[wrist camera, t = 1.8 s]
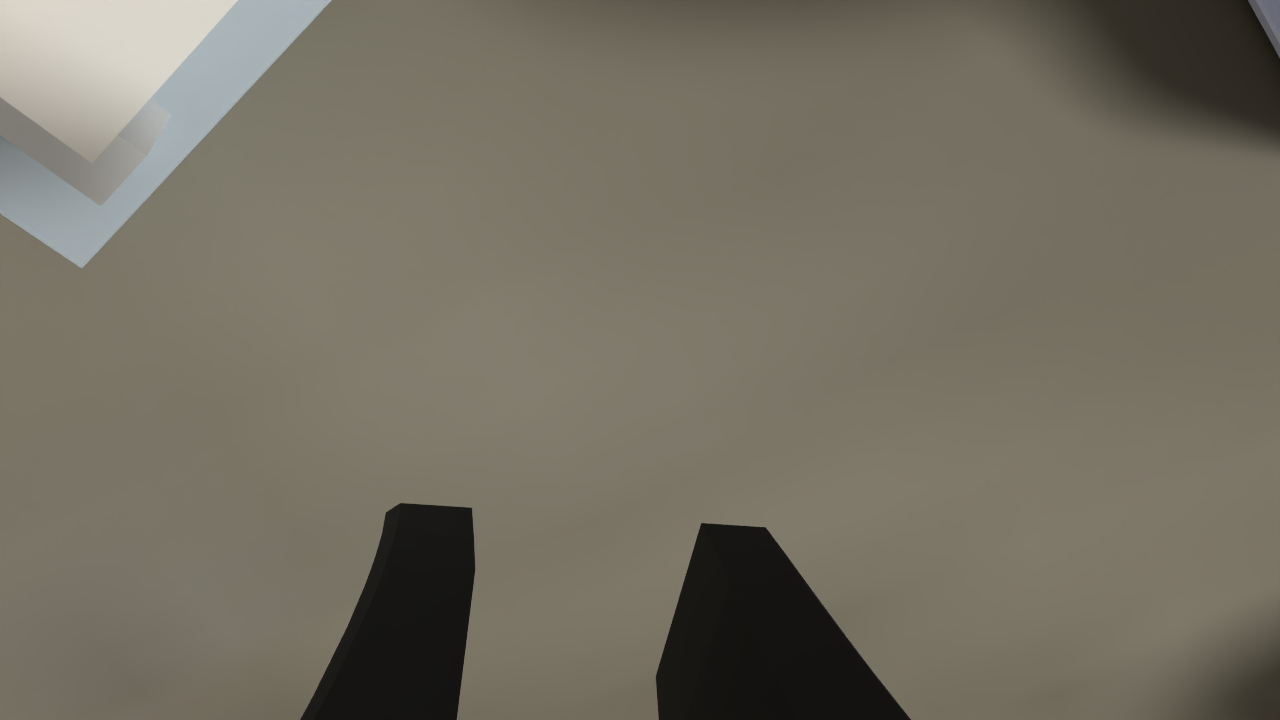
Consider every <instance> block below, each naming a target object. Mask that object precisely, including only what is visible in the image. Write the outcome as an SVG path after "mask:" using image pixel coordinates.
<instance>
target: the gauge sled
mask: <svg viewBox="0 0 1280 720" xmlns="http://www.w3.org/2000/svg"><path fill="white" fill-rule="evenodd" d="M237 1H238V0H0V97H1V98H2V99H4V100H5V101H6V102H8V103H9V104H10V105H12V106H13V107H15V108H16V109H17V110H19V111H20V112H22V113H23V114H24V115H26V116H27V117H28V118H30V119H31V120H33V121H34V122H35V123H37V124H38V125H39V126H41V127H42V128H44V129H45V130H46V131H48V132H49V133H50V134H52V135H53V136H55V137H56V138H57V139H59V140H60V141H62V142H63V143H64V144H66V145H67V146H68V147H70V148H71V149H73V150H74V151H75V152H77V153H78V154H79V155H81V156H82V157H84V158H85V159H86V160H88V161H89V162H91V163H93V162H94V161H95V160H96V159H97V158H98V156H99V155H100V154H101V153H102V152H103V151H104V150H105V149H106V147H107V146H108V145H109V144H110V143H111V142H112V141H113V140H114V139H115V137H116V136H117V135H118V134H119V133H120V132H121V131H122V130H123V128H124V127H125V126H126V125H127V124H128V123H129V122H130V121H131V120H132V118H133V117H134V116H135V115H136V114H137V113H138V112H139V111H140V109H141V108H142V107H143V106H144V105H145V104H146V103H147V102H148V101H149V99H150V98H151V97H152V96H153V95H154V94H155V93H156V92H157V90H158V89H159V88H160V87H161V86H162V85H163V84H164V83H165V82H166V80H167V79H168V78H169V77H170V76H171V75H172V74H173V73H174V71H175V70H176V69H177V68H178V67H179V66H180V65H181V64H182V63H183V61H184V60H185V59H186V58H187V57H188V56H189V55H190V54H191V52H192V51H193V50H194V49H195V48H196V47H197V46H198V45H199V43H200V42H201V41H202V40H203V39H204V38H205V37H206V36H207V35H208V33H209V32H210V31H211V30H212V29H213V28H214V27H215V26H216V24H217V23H218V22H219V21H220V20H221V19H222V18H223V17H224V16H225V14H226V13H227V12H228V11H229V10H230V9H231V8H232V7H233V5H234V4H235V3H236V2H237Z"/></svg>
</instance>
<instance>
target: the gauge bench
mask: <svg viewBox="0 0 1280 720" xmlns="http://www.w3.org/2000/svg"><path fill="white" fill-rule="evenodd" d="M330 1H331V0H238V1H237V2H236V3H235V4H234V5H233V7H232V8H231V9H230V10H229V11H228V12H227V13H226V14H225V16H224V17H223V18H222V19H221V20H220V21H219V22H218V23H217V24H216V26H215V27H214V28H213V29H212V30H211V31H210V32H209V33H208V35H207V36H206V37H205V38H204V39H203V40H202V41H201V42H200V43H199V45H198V46H197V47H196V48H195V49H194V50H193V51H192V52H191V54H190V55H189V56H188V57H187V58H186V59H185V60H184V61H183V63H182V64H181V65H180V66H179V67H178V68H177V69H176V70H175V71H174V73H173V74H172V75H171V76H170V77H169V78H168V79H167V80H166V82H165V83H164V84H163V85H162V86H161V87H160V88H159V89H158V90H157V92H156V93H155V94H154V95H153V96H152V97H151V98H150V99H149V101H148V102H147V103H146V104H145V105H144V106H143V107H142V108H141V109H140V111H139V112H138V113H137V114H136V115H135V116H134V117H133V118H132V120H131V121H130V122H129V123H128V124H127V125H126V126H125V127H124V128H123V130H122V131H121V132H120V133H119V134H118V135H117V136H116V137H115V139H114V140H113V141H112V142H111V143H110V144H109V145H108V146H107V147H106V149H105V150H104V151H103V152H102V153H101V154H100V155H99V156H98V158H97V159H96V160H95V161H94V162H93V163H91V162H89V161H88V160H86V159H85V158H84V157H82V156H81V155H79V154H78V153H77V152H75V151H74V150H73V149H71V148H70V147H68V146H67V145H66V144H64V143H63V142H62V141H60V140H59V139H57V138H56V137H55V136H53V135H52V134H50V133H49V132H48V131H46V130H45V129H44V128H42V127H41V126H39V125H38V124H37V123H35V122H34V121H33V120H31V119H30V118H28V117H27V116H26V115H24V114H23V113H22V112H20V111H19V110H17V109H16V108H15V107H13V106H12V105H10V104H9V103H8V102H6V101H5V100H4V99H2V98H1V97H0V214H2V215H3V216H5V217H6V218H8V219H9V220H11V221H12V222H14V223H15V224H17V225H18V226H20V227H21V228H22V229H24V230H25V231H27V232H28V233H30V234H31V235H33V236H34V237H36V238H37V239H39V240H40V241H42V242H43V243H45V244H46V245H48V246H49V247H51V248H52V249H54V250H55V251H57V252H58V253H60V254H61V255H63V256H64V257H66V258H67V259H69V260H70V261H72V262H73V263H75V264H76V265H78V266H79V267H81V268H83V267H84V266H85V265H86V263H87V262H88V261H89V260H90V259H91V258H92V257H93V256H94V255H95V254H96V253H97V252H98V251H99V249H100V248H101V247H102V246H103V245H104V244H105V243H106V242H107V241H108V240H109V239H110V238H111V237H112V236H113V234H114V233H115V232H116V231H117V230H118V229H119V228H120V227H121V226H122V225H123V224H124V223H125V222H126V220H127V219H128V218H129V217H130V216H131V215H132V214H133V213H134V212H135V211H136V210H137V209H138V208H139V206H140V205H141V204H142V203H143V202H144V201H145V200H146V199H147V198H148V197H149V196H150V195H151V194H152V193H153V191H154V190H155V189H156V188H157V187H158V186H159V185H160V184H161V183H162V182H163V181H164V180H165V179H166V177H167V176H168V175H169V174H170V173H171V172H172V171H173V170H174V169H175V168H176V167H177V166H178V165H179V163H180V162H181V161H182V160H183V159H184V158H185V157H186V156H187V155H188V154H189V153H190V152H191V151H192V150H193V148H194V147H195V146H196V145H197V144H198V143H199V142H200V141H201V140H202V139H203V138H204V137H205V136H206V134H207V133H208V132H209V131H210V130H211V129H212V128H213V127H214V126H215V125H216V124H217V123H218V122H219V121H220V119H221V118H222V117H223V116H224V115H225V114H226V113H227V112H228V111H229V110H230V109H231V108H232V107H233V105H234V104H235V103H236V102H237V101H238V100H239V99H240V98H241V97H242V96H243V95H244V94H245V93H246V91H247V90H248V89H249V88H250V87H251V86H252V85H253V84H254V83H255V82H256V81H257V80H258V79H259V78H260V76H261V75H262V74H263V73H264V72H265V71H266V70H267V69H268V68H269V67H270V66H271V65H272V64H273V62H274V61H275V60H276V59H277V58H278V57H279V56H280V55H281V54H282V53H283V52H284V51H285V50H286V48H287V47H288V46H289V45H290V44H291V43H292V42H293V41H294V40H295V39H296V38H297V37H298V36H299V35H300V33H301V32H302V31H303V30H304V29H305V28H306V27H307V26H308V25H309V24H310V23H311V22H312V21H313V19H314V18H315V17H316V16H317V15H318V14H319V13H320V12H321V11H322V10H323V9H324V8H325V7H326V5H327V4H328V3H329V2H330Z"/></svg>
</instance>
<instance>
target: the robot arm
mask: <svg viewBox="0 0 1280 720" xmlns="http://www.w3.org/2000/svg"><path fill="white" fill-rule="evenodd" d="M1248 1H1249V3H1250V5H1251V7H1252V9H1253V10H1254V12H1255V14H1256V16H1257V18H1258V19H1259V21H1260V23H1261V25H1262V27H1263V29H1264V30H1265V32H1266V34H1267V36H1268V38H1269V39H1270V41H1271V43H1272V45H1273V47H1274V48H1275V50H1276V52H1277V54H1278V56H1279V58H1280V0H1248ZM474 575H475V553H474V533H473V518H472V508H466V507H451V506H435V505H420V504H405V503H400V504H399V505H397V506H395V507H394V508H392V509H391V510H389V511H388V512H386V515H385V521H384V527H383V532H382V536H381V539H380V543H379V546H378V550H377V553H376V556H375V559H374V562H373V565H372V568H371V571H370V573H369V576H368V579H367V581H366V584H365V587H364V589H363V591H362V594H361V596H360V598H359V601H358V603H357V606H356V608H355V610H354V613H353V615H352V617H351V620H350V622H349V624H348V627H347V629H346V631H345V633H344V635H343V637H342V639H341V641H340V643H339V645H338V647H337V649H336V651H335V653H334V655H333V657H332V659H331V661H330V663H329V665H328V667H327V669H326V671H325V673H324V675H323V677H322V679H321V681H320V683H319V685H318V687H317V690H316V692H315V694H314V695H313V697H312V699H311V701H310V703H309V705H308V707H307V709H306V710H305V712H304V714H303V716H302V718H301V719H300V720H457V712H458V704H459V696H460V688H461V680H462V672H463V664H464V656H465V648H466V640H467V632H468V624H469V616H470V607H471V599H472V591H473V583H474ZM656 685H657V699H658V713H659V720H911V719H910V718H909V717H908V715H907V714H906V713H905V712H904V710H903V709H902V708H901V707H900V705H899V704H898V703H897V702H896V700H895V699H894V698H893V697H892V695H891V694H890V693H889V692H888V690H887V689H886V688H885V686H884V685H883V684H882V683H881V681H880V680H879V679H878V678H877V676H876V675H875V674H874V673H873V671H872V670H871V669H870V667H869V666H868V665H867V663H866V662H865V661H864V660H863V658H862V657H861V656H860V654H859V653H858V652H857V650H856V649H855V648H854V646H853V645H852V644H851V642H850V641H849V640H848V638H847V637H846V636H845V634H844V633H843V632H842V630H841V629H840V628H839V626H838V625H837V624H836V622H835V621H834V620H833V618H832V617H831V615H830V614H829V613H828V611H827V610H826V609H825V607H824V606H823V605H822V603H821V602H820V601H819V599H818V598H817V596H816V595H815V594H814V592H813V591H812V590H811V588H810V587H809V585H808V584H807V583H806V581H805V580H804V579H803V577H802V576H801V575H800V573H799V572H798V570H797V569H796V568H795V566H794V565H793V564H792V562H791V561H790V560H789V558H788V557H787V555H786V554H785V553H784V551H783V550H782V549H781V547H780V546H779V545H778V543H777V542H776V541H775V539H774V538H773V537H772V535H771V534H770V533H769V531H768V530H767V529H766V527H751V526H736V525H721V524H706V523H701V526H700V529H699V533H698V536H697V540H696V543H695V546H694V550H693V553H692V556H691V560H690V563H689V566H688V570H687V573H686V577H685V580H684V583H683V587H682V590H681V593H680V597H679V600H678V604H677V607H676V610H675V614H674V617H673V620H672V624H671V627H670V630H669V634H668V637H667V641H666V644H665V647H664V651H663V654H662V657H661V661H660V664H659V668H658V671H657V674H656Z"/></svg>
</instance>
